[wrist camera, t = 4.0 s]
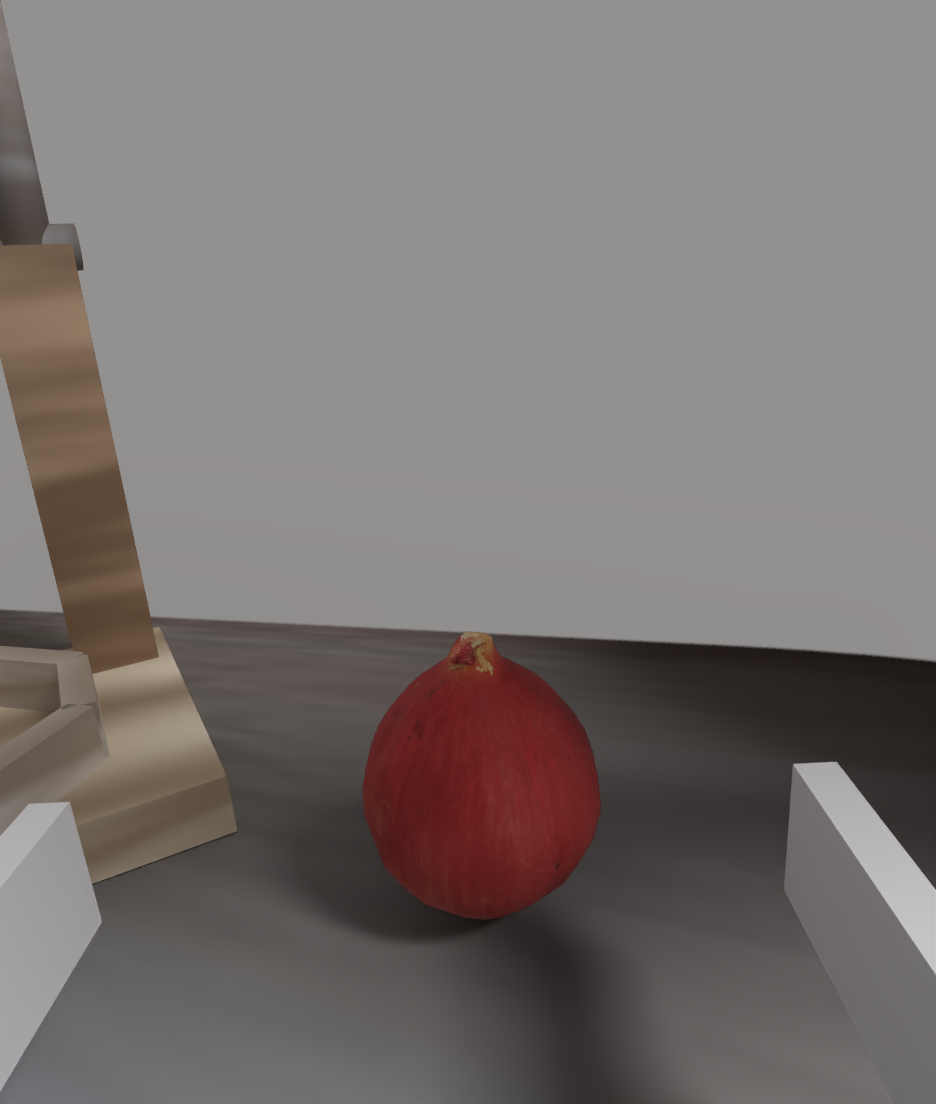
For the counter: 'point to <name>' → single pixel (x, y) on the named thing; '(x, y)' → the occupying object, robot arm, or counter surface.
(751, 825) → the counter surface
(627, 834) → the counter surface
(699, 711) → the counter surface
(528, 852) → the onion
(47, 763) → the press
